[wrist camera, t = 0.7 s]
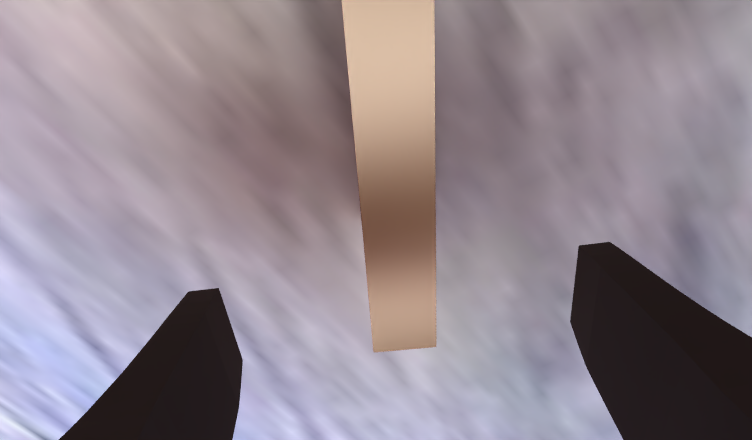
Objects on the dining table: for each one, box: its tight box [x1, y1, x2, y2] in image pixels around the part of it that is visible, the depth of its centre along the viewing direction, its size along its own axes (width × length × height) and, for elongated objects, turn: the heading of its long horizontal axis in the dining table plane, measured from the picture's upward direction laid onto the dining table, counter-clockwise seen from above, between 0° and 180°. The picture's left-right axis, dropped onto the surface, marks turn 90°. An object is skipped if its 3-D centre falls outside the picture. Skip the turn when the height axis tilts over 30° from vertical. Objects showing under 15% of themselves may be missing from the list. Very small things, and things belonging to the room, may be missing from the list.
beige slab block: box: [342, 0, 436, 352], centre depth 17 cm, size 10×2×7 cm, turn 3°
